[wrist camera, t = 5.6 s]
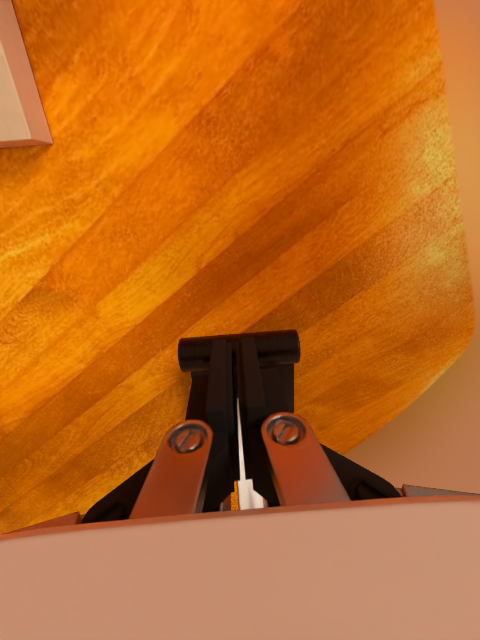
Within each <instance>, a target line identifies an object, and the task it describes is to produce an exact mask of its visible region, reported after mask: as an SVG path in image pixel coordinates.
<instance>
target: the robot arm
mask: <svg viewBox="0 0 480 640" xmlns="http://www.w3.org/2000/svg"><path fill="white" fill-rule="evenodd" d="M236 361H237V380H238V399H239V414H240V425H241V436H242V447H243V457H244V468H245V479H246V480H250V479H252V483H253V490H254V491H255V492H257V493H258V494H259V495H260V496H262V497H263V498H264V499H265V505H266V508H256V509H244V510H232V511H223V501H224V500H225V499H226V498H227V497H228V496H229V495H230V494H231V493H232V492H234V481H238V480H240V460H239V438H238V415H237V398H236V387H235V376H234V366H233V355H232V345H231V343H226V340H216V341H212V344H211V354H210V365H209V374H198V375H193V379H192V385H191V390H190V396H189V402H188V408H187V413H186V419H185V421H183V422H180V423H178V424H176V425H174V426H173V427H172V428H171V429H169V430H168V432H167V433H166V435H165V436H164V438H163V441H162V443H161V445H160V448H159V450H158V452H157V455H156V457H155V459H154V460H152V461H151V462H150V463H148V464H147V465H146V466H144V467H143V468H142V469H140V470H139V471H138V472H136V473H135V474H134V475H132V476H131V477H130V478H128V479H127V480H126V481H124V482H123V483H122V484H121V485H119V486H118V487H117V488H115V489H114V490H113V491H111V492H110V493H109V494H107V495H106V496H105V497H103V498H102V499H101V500H99V501H98V502H97V503H96V504H95V505H94V506H92V507H91V508H90V509H89V510H88V512H87V513H86V514H84V515H80V514H79V511H78V512H75V513H72V514H68V515H65V516H61V517H58V518H55V519H51V520H48V521H45V522H41V523H38V524H35V525H31V526H28V527H25V528H21V529H18V530H15V531H11V532H8V533H5V534H2V535H0V640H480V494H475V493H466V492H459V491H451V490H443V489H436V488H427V487H420V486H412V485H405V484H403V486H402V488H394V486H393V485H392V484H390V483H389V482H388V481H386V480H385V479H383V478H381V477H380V476H378V475H376V474H374V473H372V472H371V471H369V470H367V469H365V468H364V467H362V466H360V465H358V464H356V463H355V462H353V461H351V460H349V459H347V458H346V457H344V456H342V455H340V454H338V453H337V452H335V451H333V450H331V449H329V448H328V447H326V446H324V445H322V444H320V443H319V441H318V439H317V437H316V436H315V434H314V432H313V430H312V428H311V427H310V425H309V423H308V422H307V421H306V420H305V419H304V418H302V417H301V416H299V415H297V414H294V413H289V410H288V406H287V402H286V398H285V395H284V391H283V387H282V383H281V380H280V376H279V372H278V369H277V368H272V369H260V368H259V362H258V356H257V350H256V345H255V339H254V337H253V338H241V342H236Z"/></svg>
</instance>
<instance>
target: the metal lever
mask: <svg viewBox="0 0 480 640" xmlns="http://www.w3.org/2000/svg"><path fill="white" fill-rule="evenodd" d="M253 337H254V339H255V345H256V350H257V356H258V362H259V366H265V365H278V364H290V363H298V362H299V361H300V341H299V336H298V333H297V331H296V330H294V329H292V330H279V331H267V332H254V333H241V334H229V335H216V336H204V337H191V338H181V339H180V340H179V344H178V361H179V366H180V369H181V371H183V372H189V371H202V370H209V365H210V354H211V344H212V341H216V340H226V343H231V345H232V355H233V366H234V376H235V387H236V398H237V415H238V438H239V460H240V480H238V481H237V491H238V502H239V510H244V509H256V508H265V507H264V498H263V497H262V496H260V495H259V494H258V493H257V492H255V491H254V490H253V483H252V479H250V480H246V479H245V468H244V457H243V447H242V436H241V425H240V414H239V399H238V380H237V361H236V342H241V338H253Z"/></svg>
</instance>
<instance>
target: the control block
mask: <svg viewBox="0 0 480 640" xmlns="http://www.w3.org/2000/svg"><path fill="white" fill-rule="evenodd" d="M45 144H53V141H52V138H51V135H50V131H49V128H48V124H47V121H46V117H45V114H44V111H43V107H42V104H41V100H40V97H39V94H38V90H37V87H36V83H35V80H34V76H33V73H32V70H31V66H30V63H29V59H28V56H27V53H26V49H25V46H24V42H23V39H22V35H21V32H20V29H19V25H18V22H17V18H16V15H15V12H14V8H13V5H12V1H11V0H0V148H8V147H20V146H33V145H45Z"/></svg>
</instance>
